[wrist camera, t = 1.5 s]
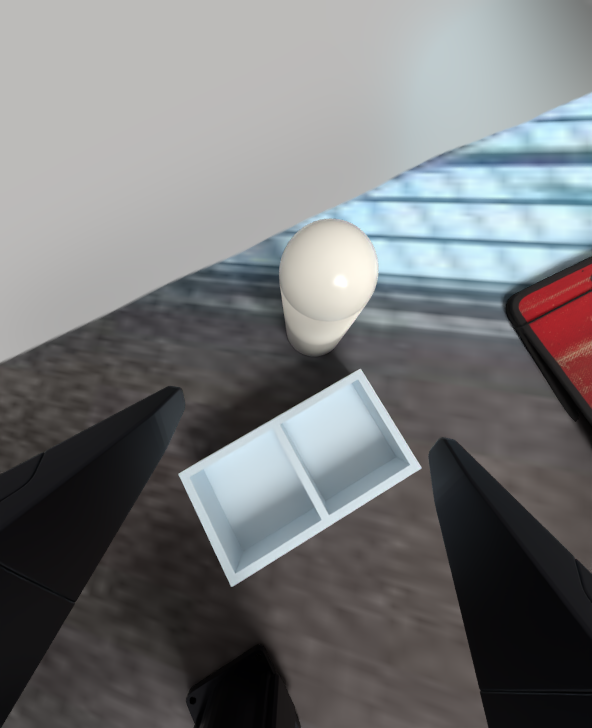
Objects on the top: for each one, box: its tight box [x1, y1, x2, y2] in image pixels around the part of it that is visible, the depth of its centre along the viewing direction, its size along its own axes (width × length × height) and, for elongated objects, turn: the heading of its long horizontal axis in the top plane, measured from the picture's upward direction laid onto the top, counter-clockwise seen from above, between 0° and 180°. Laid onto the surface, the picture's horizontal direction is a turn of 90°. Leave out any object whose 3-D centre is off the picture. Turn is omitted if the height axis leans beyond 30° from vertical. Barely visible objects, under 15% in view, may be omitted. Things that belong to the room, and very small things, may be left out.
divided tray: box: [179, 369, 421, 587], centre depth 19 cm, size 16×8×4 cm, turn 120°
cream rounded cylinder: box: [279, 219, 378, 357], centre depth 17 cm, size 5×5×13 cm
